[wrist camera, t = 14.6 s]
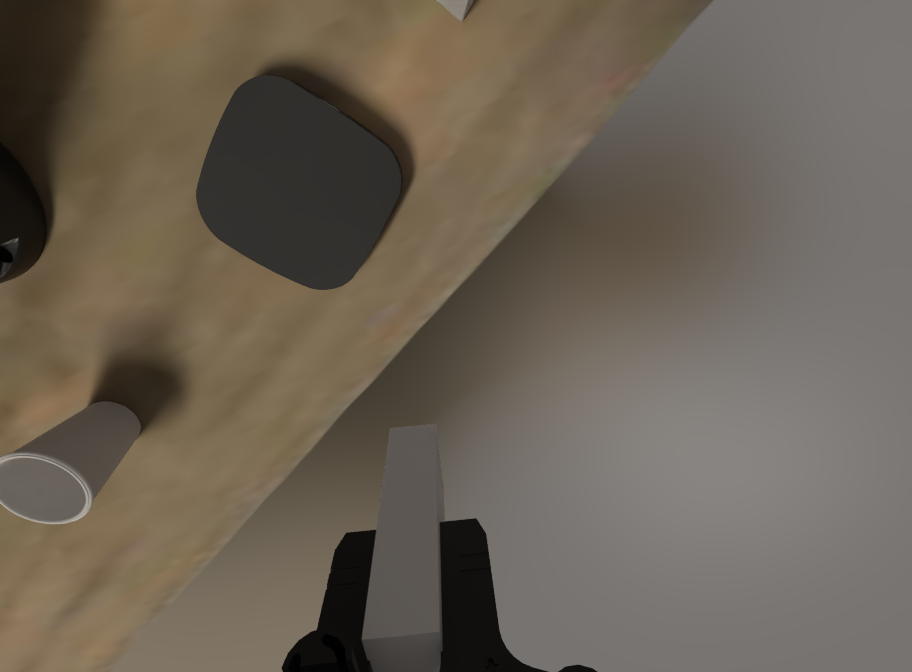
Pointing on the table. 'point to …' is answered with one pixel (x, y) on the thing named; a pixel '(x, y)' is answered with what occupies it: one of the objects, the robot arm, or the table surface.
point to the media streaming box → (296, 183)
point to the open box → (457, 7)
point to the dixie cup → (67, 464)
